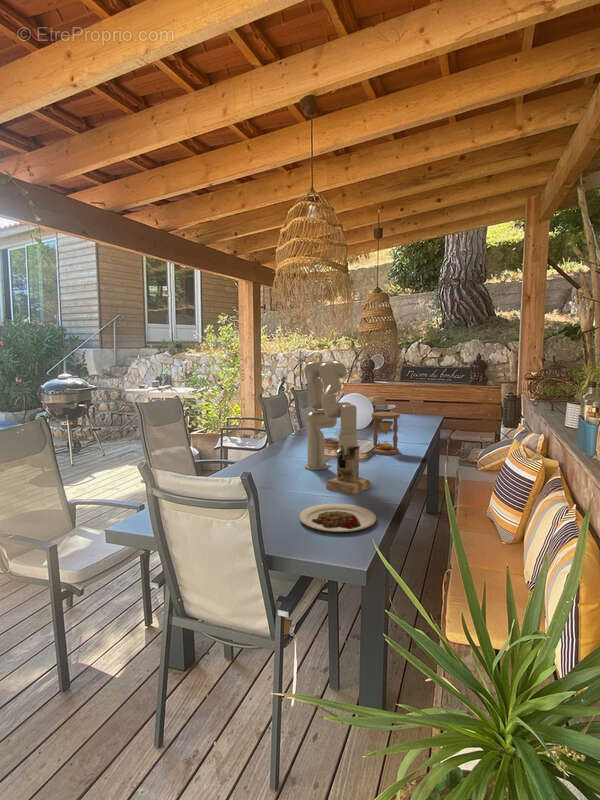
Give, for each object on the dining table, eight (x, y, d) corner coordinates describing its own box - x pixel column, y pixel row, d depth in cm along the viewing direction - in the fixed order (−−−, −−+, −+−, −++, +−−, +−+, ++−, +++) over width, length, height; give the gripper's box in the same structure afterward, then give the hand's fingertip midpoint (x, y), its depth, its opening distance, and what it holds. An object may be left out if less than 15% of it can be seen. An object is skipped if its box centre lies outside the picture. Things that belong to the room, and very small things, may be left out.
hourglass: (403, 451, 306) (404, 413, 304) (391, 456, 293) (391, 416, 290) (379, 448, 317) (379, 411, 314) (366, 452, 304) (366, 414, 301)
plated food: (315, 504, 206) (315, 496, 205) (383, 513, 194) (383, 505, 194) (287, 528, 178) (287, 520, 178) (364, 541, 167) (364, 531, 166)
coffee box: (336, 480, 227) (336, 447, 225) (341, 476, 233) (341, 444, 231) (354, 482, 223) (354, 449, 221) (359, 479, 229) (359, 446, 226)
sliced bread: (345, 481, 239) (345, 474, 238) (370, 487, 229) (370, 479, 228) (326, 488, 228) (326, 480, 227) (351, 494, 218) (351, 486, 217)
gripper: (352, 427, 234) (352, 461, 236) (330, 432, 221) (330, 468, 223) (365, 429, 229) (365, 463, 231) (343, 434, 216) (343, 470, 218)
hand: (348, 465), depth 227 cm, fingers open, 9 cm apart
